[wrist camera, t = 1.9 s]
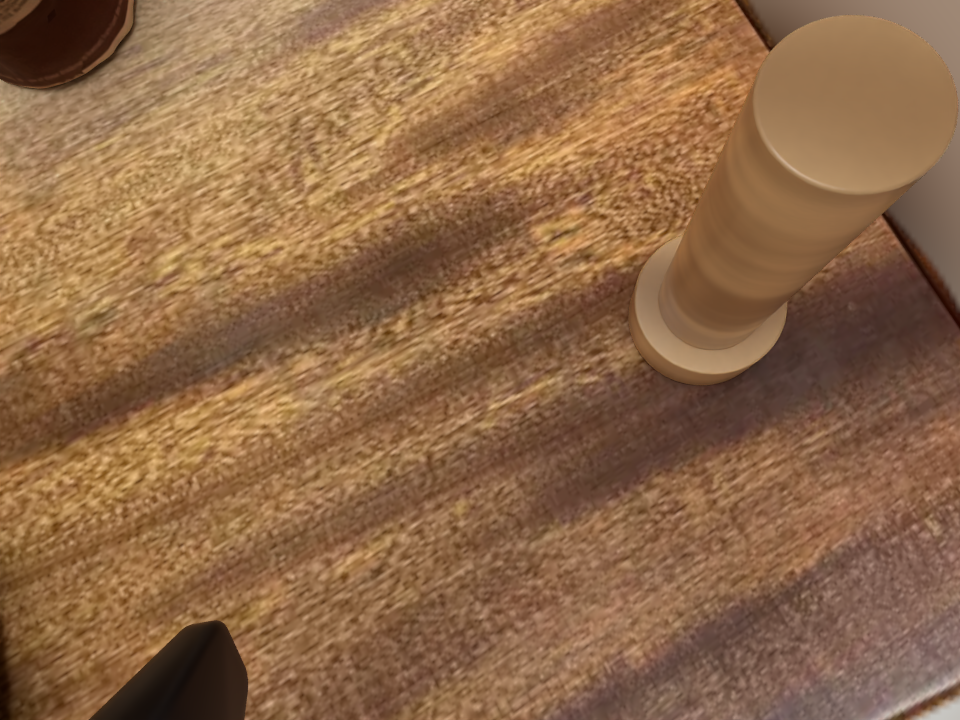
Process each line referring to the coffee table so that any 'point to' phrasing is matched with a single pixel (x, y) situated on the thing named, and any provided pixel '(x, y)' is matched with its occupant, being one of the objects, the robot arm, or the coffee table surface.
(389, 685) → the coffee table surface
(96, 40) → the coffee cup
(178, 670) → the robot arm
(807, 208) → the muddler
